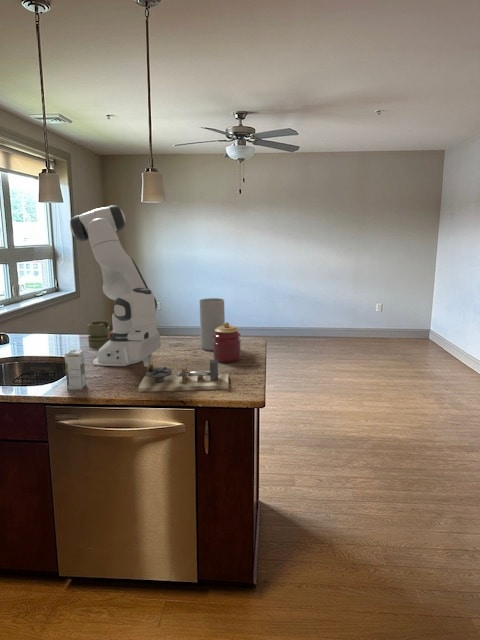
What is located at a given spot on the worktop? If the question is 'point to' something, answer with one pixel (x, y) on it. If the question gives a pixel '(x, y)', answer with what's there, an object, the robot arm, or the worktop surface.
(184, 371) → the eye post
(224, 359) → the canister
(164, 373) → the handwheel
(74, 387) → the syrup box
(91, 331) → the olive green mug
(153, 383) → the board
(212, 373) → the hammer
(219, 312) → the cylinder vase
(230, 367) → the worktop surface
